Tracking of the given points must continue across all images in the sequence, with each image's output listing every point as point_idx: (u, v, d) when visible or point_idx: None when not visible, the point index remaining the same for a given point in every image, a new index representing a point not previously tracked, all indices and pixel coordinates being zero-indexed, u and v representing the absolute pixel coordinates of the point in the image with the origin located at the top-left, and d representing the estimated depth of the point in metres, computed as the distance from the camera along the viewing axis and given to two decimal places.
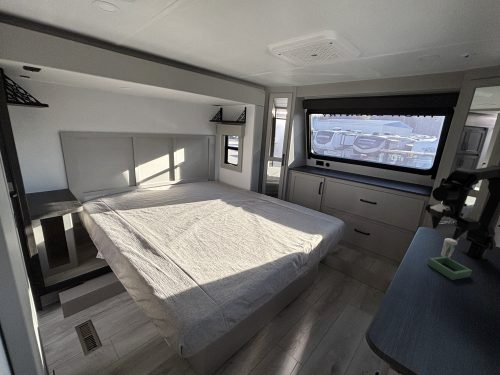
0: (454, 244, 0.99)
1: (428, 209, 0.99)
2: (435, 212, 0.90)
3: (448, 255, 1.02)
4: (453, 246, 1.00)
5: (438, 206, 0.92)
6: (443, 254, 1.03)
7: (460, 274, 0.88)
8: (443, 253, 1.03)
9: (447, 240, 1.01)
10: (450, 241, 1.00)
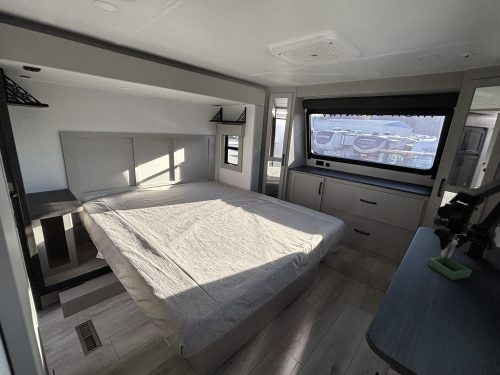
0: (454, 244, 0.99)
1: None
2: None
3: (448, 255, 1.02)
4: (453, 246, 1.00)
5: (445, 219, 1.04)
6: (443, 254, 1.03)
7: (460, 274, 0.88)
8: (443, 253, 1.03)
9: None
10: None
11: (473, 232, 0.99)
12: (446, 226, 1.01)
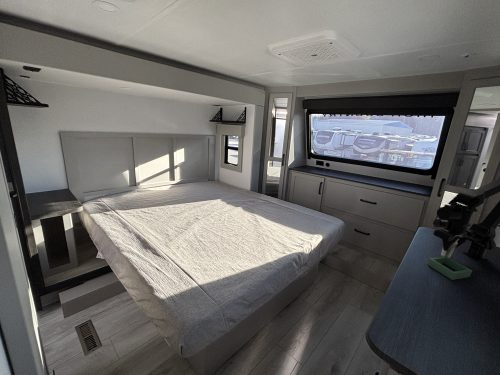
0: (454, 244, 0.99)
1: None
2: None
3: (448, 255, 1.02)
4: (453, 246, 1.00)
5: (445, 220, 1.05)
6: (443, 254, 1.03)
7: (460, 274, 0.88)
8: (443, 253, 1.03)
9: None
10: None
11: (472, 233, 0.99)
12: (445, 227, 1.01)
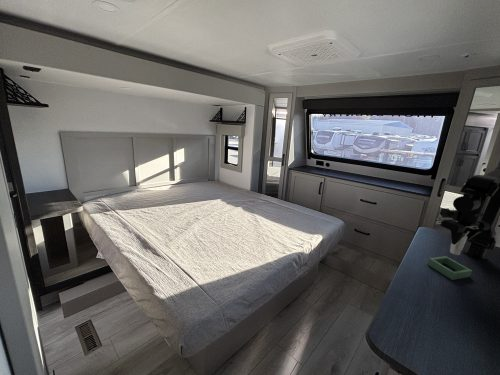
0: (463, 239, 0.87)
1: None
2: None
3: (458, 251, 0.90)
4: (462, 241, 0.88)
5: (453, 210, 0.92)
6: (452, 250, 0.91)
7: (460, 274, 0.88)
8: (452, 249, 0.91)
9: None
10: None
11: (485, 224, 0.87)
12: (454, 217, 0.89)
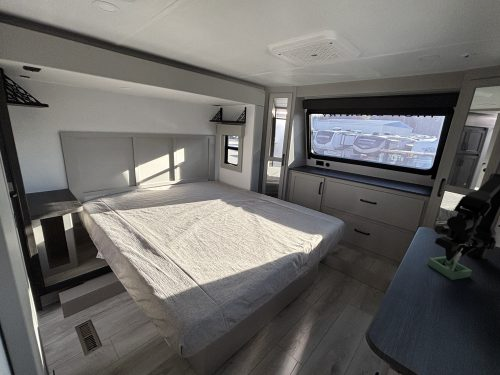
0: (457, 255, 0.89)
1: None
2: None
3: (452, 268, 0.92)
4: (456, 258, 0.90)
5: (448, 227, 0.94)
6: (447, 266, 0.93)
7: (460, 274, 0.88)
8: (447, 265, 0.93)
9: None
10: None
11: (479, 241, 0.88)
12: (448, 235, 0.90)
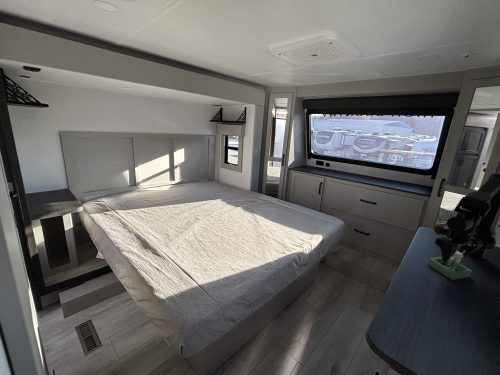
0: (459, 257, 0.89)
1: None
2: None
3: (452, 269, 0.92)
4: (458, 259, 0.90)
5: (448, 227, 0.94)
6: None
7: (460, 274, 0.88)
8: (447, 267, 0.93)
9: None
10: (455, 254, 0.90)
11: (478, 242, 0.88)
12: (448, 235, 0.90)
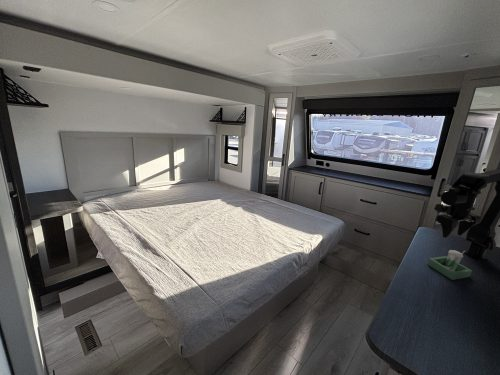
0: (459, 257, 0.89)
1: None
2: None
3: (452, 269, 0.92)
4: (458, 259, 0.90)
5: (447, 205, 0.99)
6: None
7: (460, 274, 0.88)
8: (447, 267, 0.93)
9: (451, 252, 0.91)
10: (455, 254, 0.90)
11: (476, 217, 0.93)
12: (448, 212, 0.95)
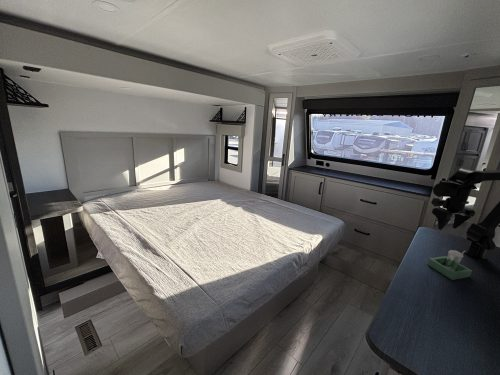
0: (459, 257, 0.89)
1: None
2: None
3: (452, 269, 0.92)
4: (458, 259, 0.90)
5: None
6: None
7: (460, 274, 0.88)
8: (447, 266, 0.93)
9: (451, 252, 0.91)
10: (455, 254, 0.90)
11: (471, 211, 0.99)
12: (444, 206, 1.01)
